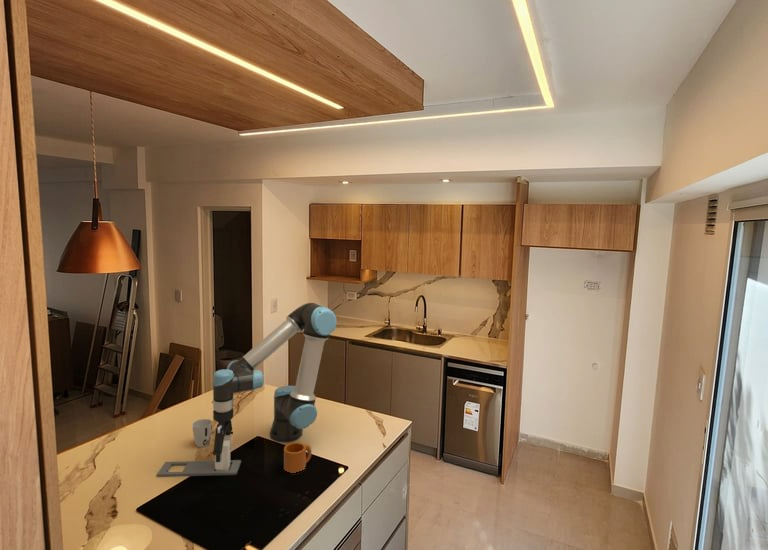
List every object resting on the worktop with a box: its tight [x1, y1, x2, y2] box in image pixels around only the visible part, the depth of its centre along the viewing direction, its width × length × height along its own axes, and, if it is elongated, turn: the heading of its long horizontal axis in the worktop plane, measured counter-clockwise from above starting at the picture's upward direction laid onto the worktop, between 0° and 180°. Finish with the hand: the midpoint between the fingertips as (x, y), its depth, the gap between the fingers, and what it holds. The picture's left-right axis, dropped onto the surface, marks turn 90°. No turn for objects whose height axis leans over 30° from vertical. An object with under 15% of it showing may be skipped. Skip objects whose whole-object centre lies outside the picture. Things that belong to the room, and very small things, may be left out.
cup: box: [191, 418, 213, 448], centre depth 191 cm, size 8×8×10 cm
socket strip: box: [156, 459, 242, 478], centre depth 173 cm, size 30×9×1 cm, turn 97°
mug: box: [283, 441, 312, 473], centre depth 177 cm, size 9×12×9 cm
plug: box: [215, 440, 231, 471], centre depth 173 cm, size 5×4×11 cm
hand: (223, 459), depth 173 cm, fingers open, 13 cm apart
